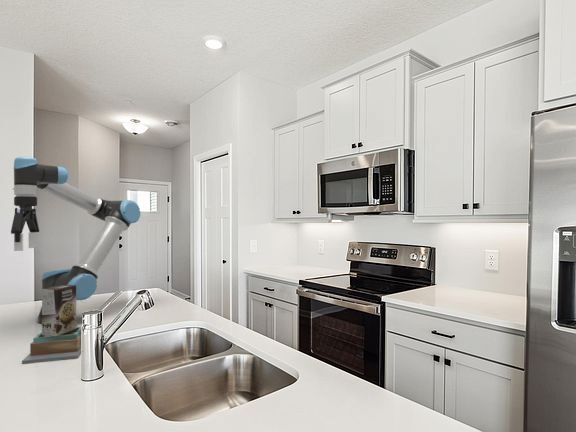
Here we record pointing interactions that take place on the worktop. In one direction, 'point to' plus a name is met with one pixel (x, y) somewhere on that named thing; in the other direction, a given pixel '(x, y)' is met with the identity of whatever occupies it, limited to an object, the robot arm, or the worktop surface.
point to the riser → (56, 343)
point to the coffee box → (58, 310)
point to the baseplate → (51, 357)
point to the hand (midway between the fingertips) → (26, 249)
